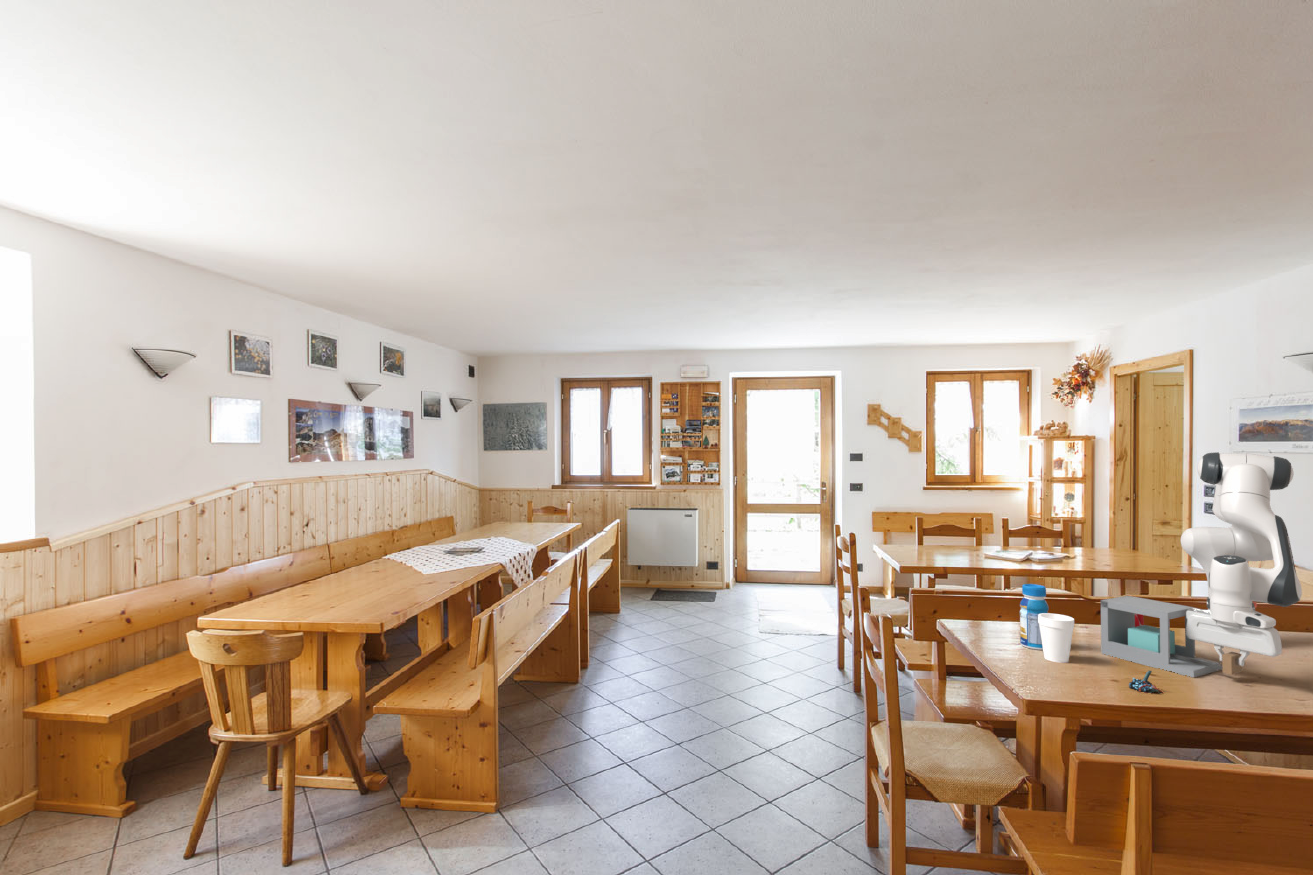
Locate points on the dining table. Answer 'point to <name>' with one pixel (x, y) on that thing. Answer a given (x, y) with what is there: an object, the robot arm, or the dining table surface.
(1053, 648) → the foam cup
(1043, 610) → the beverage bottle
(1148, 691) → the blue bumpy stemmed lump
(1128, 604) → the shelf lane
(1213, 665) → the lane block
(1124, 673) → the dining table surface
